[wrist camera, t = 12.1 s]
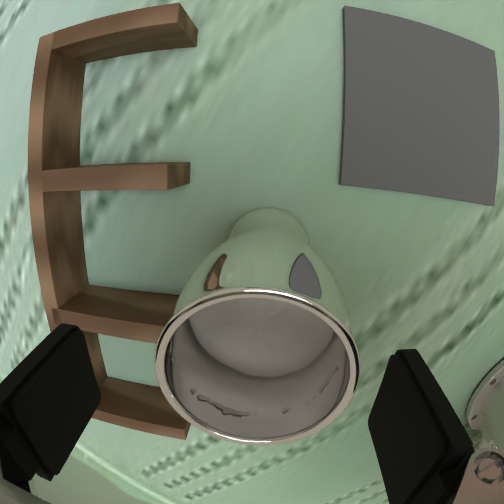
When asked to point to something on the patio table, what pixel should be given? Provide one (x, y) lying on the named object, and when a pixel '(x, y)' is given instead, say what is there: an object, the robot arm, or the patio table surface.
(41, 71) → the slot rack
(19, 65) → the patio table surface
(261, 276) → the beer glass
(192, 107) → the patio table surface
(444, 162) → the rubber mat
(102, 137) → the patio table surface
